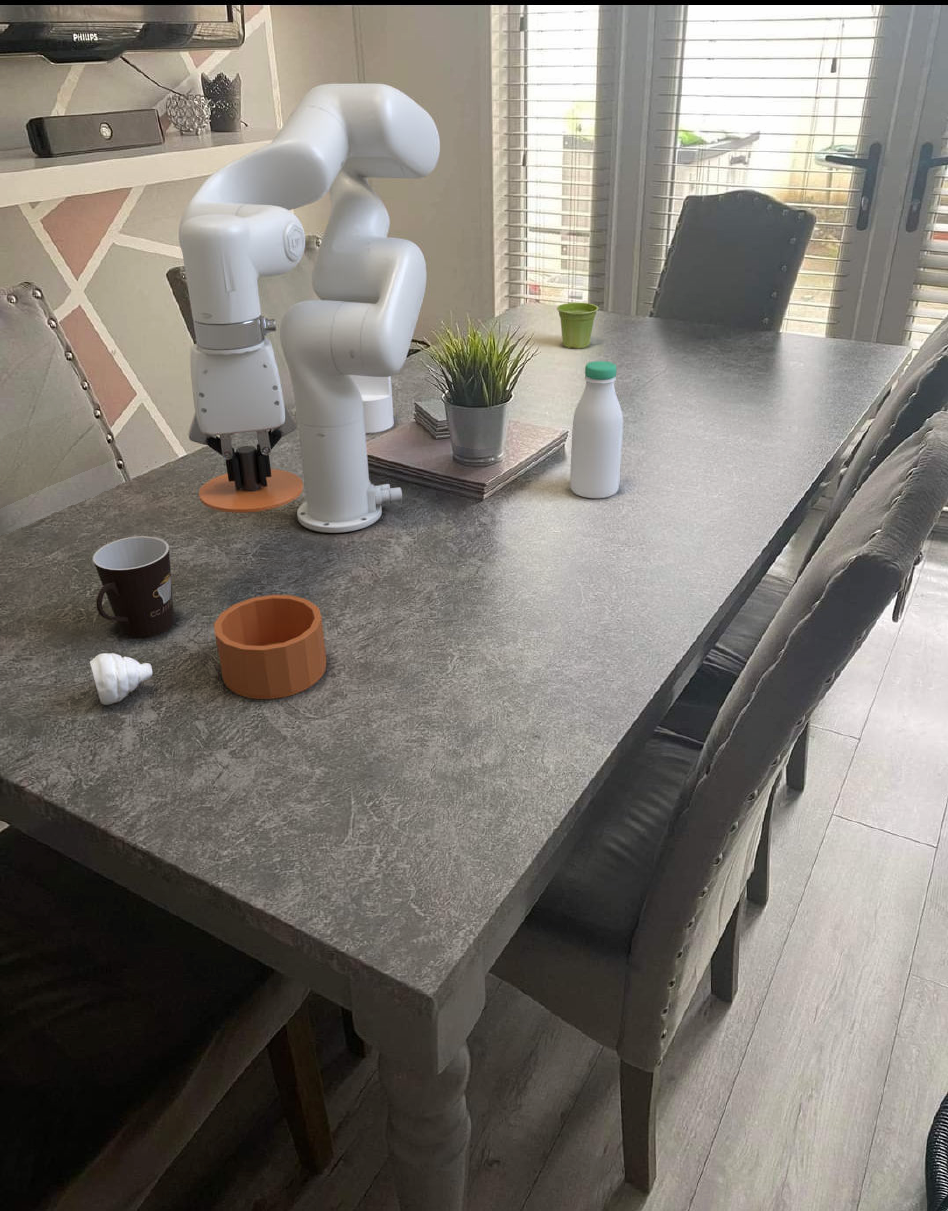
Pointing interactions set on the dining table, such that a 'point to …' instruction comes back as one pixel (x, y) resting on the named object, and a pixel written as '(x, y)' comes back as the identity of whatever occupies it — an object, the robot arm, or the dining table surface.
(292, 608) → the pot
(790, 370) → the dining table surface
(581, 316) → the plant pot
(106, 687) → the white whipped cream swirl
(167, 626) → the coffee mug
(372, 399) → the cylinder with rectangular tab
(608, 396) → the milk bottle
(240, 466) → the pot lid
